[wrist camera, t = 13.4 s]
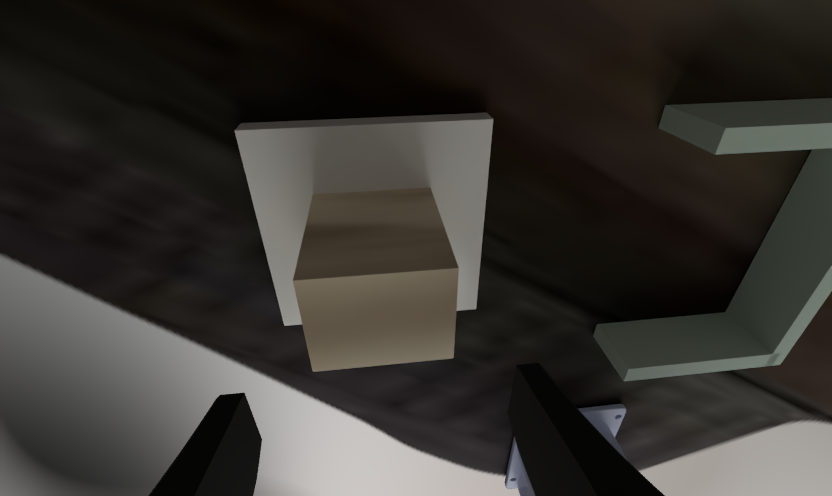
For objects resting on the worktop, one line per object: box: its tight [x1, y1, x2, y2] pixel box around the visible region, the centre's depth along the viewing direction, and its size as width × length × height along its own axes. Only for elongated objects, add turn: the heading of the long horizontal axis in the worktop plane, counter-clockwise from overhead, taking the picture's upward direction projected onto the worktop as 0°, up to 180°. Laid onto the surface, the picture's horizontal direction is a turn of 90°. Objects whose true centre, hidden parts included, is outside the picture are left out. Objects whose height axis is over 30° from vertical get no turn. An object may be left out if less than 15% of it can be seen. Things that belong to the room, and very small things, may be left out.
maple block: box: [293, 188, 459, 372], centre depth 16 cm, size 4×5×6 cm
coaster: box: [235, 113, 493, 326], centre depth 19 cm, size 10×10×1 cm
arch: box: [593, 98, 832, 381], centre depth 20 cm, size 14×10×4 cm
